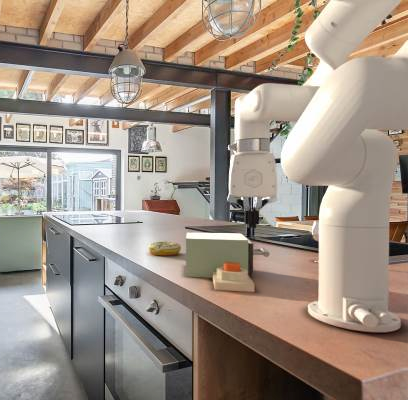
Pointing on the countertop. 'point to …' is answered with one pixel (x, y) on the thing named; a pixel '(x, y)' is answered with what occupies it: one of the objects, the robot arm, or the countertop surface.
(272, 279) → the countertop surface
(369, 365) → the countertop surface
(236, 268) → the button
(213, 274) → the block
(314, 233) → the wineglass
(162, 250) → the decorated donut
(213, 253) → the green drawer cabinet
